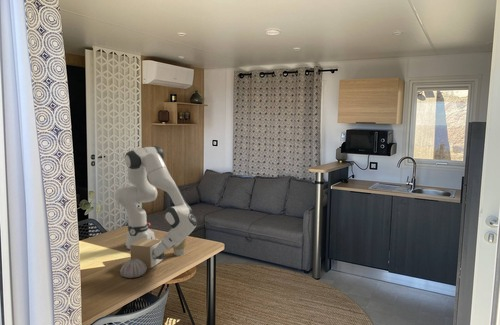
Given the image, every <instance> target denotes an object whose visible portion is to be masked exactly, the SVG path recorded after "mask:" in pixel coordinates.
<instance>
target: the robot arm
mask: <svg viewBox="0 0 500 325" xmlns="http://www.w3.org/2000/svg"><path fill="white" fill-rule="evenodd" d="M164 157H165V154H164V150H163V149H162V147H160V146H158V145H152V146H145V147H142V148H137V149H134V150H130V151H127V152H126V153H125V155H124V162H125V165H126V167H127V179H128V181H129V182H130V184H131V185H130V186H128V185H127V186H121V187H118V188H117V189H116V190H115V193H114V199H115V202H116V203H117V204H119V205H121V207H123V208H124V209H125V211H126V214H127V222H128V223H127V224H128V225H127V232H126V242H125V243H124V245H125V246H126V249H127V250H130V245H131V244H133V243H135V242H136V241H138V240H140V239H142V238H144V239H155V240H159V238H157V237H156V236H155V232H154V231H153V230H151V229H150V228H149V227H150V226H151V223H150V222H147V220H148V219H147V212H146V211H145V209H143V208H140V207H138V206H137V204H141V203H142V204H143V203H149V202H153V201H156V200H157V197H158V189H159V190H162V191H164V192H166V193H167V194H168V195H169V197H170V199H171V201H172V203H173V205H174V206H168V207H167V208H165V210H164V211H163V219H164V222H165V223H166V225H168V226H169V227H170V228H171V229H170V230H169V231H168V232H167V233H166V234H165V235H164V237H162V238H161V239H160V240H161V242H160V243H159V245H158V246H157V247H156V248H155V249H154V251H153V253H154V255H153V258H156V257H158V256H159V255H161V254H162V253H163V252H164V253H165V252H166V251H168V250H170V249H173V247H175V246H178V245H179V244H180V243H181V242H182V241H183V240H184V239H185V237H186V238H187V237H188V236H190V234H191V233H192V232H193V231H194V230H195V229H196V227H197V225H198V220H197V218H196V216H195V215H194V214H193V209H192V208H191V206H190V205H189V203H188V202H186V200H185V198H184V196H183V195H182V194H183V193H182V192H181V190H180V188H179V187H178V185H177V183H176V182H175V180H174V179H173V178H172V176H171V174H170V172H169V170H168V168H167V165H166V163H165V161H164V159H165V158H164Z"/></svg>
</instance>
